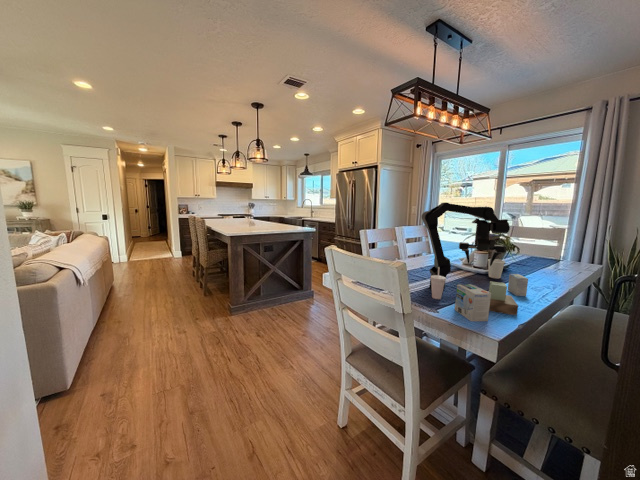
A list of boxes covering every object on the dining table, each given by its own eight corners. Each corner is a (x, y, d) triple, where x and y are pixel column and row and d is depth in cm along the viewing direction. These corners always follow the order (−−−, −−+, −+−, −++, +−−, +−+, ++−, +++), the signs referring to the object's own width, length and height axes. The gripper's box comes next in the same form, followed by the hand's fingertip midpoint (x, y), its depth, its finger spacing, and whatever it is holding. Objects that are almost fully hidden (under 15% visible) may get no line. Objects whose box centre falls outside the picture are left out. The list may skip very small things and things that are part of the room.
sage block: (490, 298, 106) (492, 284, 105) (488, 294, 110) (490, 281, 109) (505, 300, 104) (506, 286, 103) (502, 296, 108) (504, 283, 107)
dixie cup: (506, 278, 149) (508, 261, 147) (495, 279, 146) (497, 262, 145) (493, 274, 157) (495, 258, 155) (482, 275, 154) (484, 259, 153)
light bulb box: (453, 309, 104) (456, 284, 103) (469, 309, 105) (472, 283, 103) (471, 322, 94) (474, 293, 92) (488, 321, 94) (492, 293, 93)
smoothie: (444, 296, 119) (446, 266, 117) (444, 301, 113) (447, 270, 111) (429, 294, 121) (431, 265, 119) (428, 298, 116) (430, 268, 114)
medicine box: (526, 296, 120) (528, 278, 119) (515, 295, 121) (517, 278, 120) (517, 291, 128) (519, 274, 127) (507, 290, 129) (509, 273, 128)
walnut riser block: (480, 309, 105) (481, 300, 104) (477, 299, 115) (478, 291, 115) (516, 315, 99) (518, 305, 99) (510, 304, 110) (511, 295, 110)
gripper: (461, 233, 121) (458, 265, 123) (509, 236, 113) (505, 270, 115) (460, 231, 131) (457, 261, 133) (504, 233, 123) (500, 265, 125)
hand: (479, 264), depth 126 cm, fingers open, 9 cm apart
